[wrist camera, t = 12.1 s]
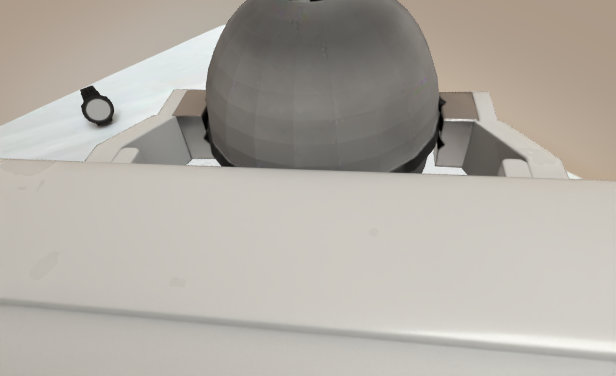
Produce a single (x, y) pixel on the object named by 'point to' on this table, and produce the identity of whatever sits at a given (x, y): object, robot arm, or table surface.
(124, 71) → the table surface
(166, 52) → the table surface
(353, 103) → the beverage cup
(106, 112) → the smartwatch
